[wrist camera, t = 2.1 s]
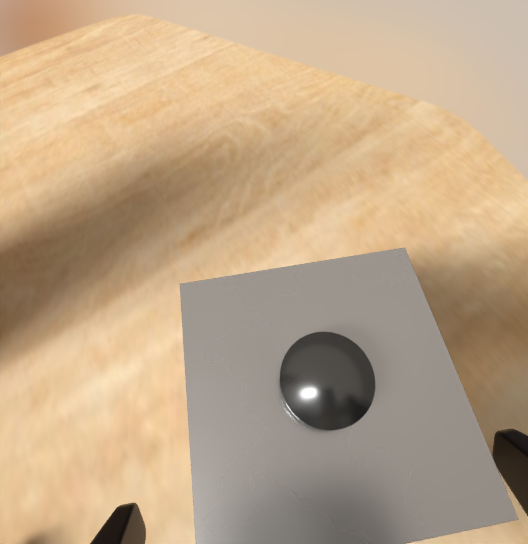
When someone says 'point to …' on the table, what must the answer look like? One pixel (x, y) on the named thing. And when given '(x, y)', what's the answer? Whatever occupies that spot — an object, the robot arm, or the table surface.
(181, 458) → the table surface
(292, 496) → the plate
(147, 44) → the table surface
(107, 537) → the robot arm
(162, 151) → the table surface
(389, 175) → the table surface
